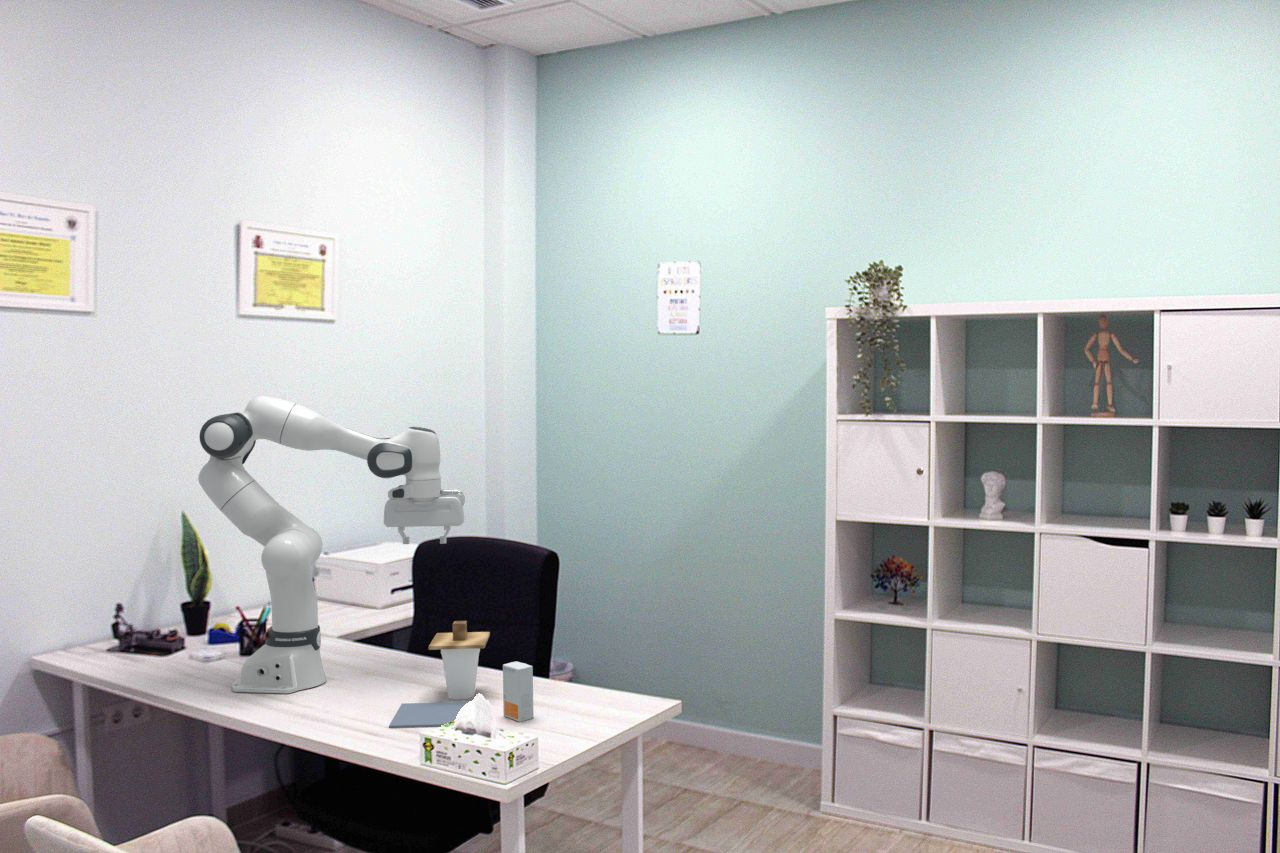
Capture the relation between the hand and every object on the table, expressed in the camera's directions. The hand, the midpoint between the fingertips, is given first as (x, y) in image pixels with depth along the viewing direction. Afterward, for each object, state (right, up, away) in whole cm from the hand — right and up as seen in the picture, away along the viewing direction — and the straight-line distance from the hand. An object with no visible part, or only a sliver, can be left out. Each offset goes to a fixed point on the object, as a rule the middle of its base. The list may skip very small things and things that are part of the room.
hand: (424, 543), depth 276 cm
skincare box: (+28, -36, -34) cm, 57 cm away
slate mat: (+9, -36, -32) cm, 49 cm away
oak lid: (+12, -22, -17) cm, 30 cm away
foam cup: (+12, -35, -17) cm, 41 cm away
